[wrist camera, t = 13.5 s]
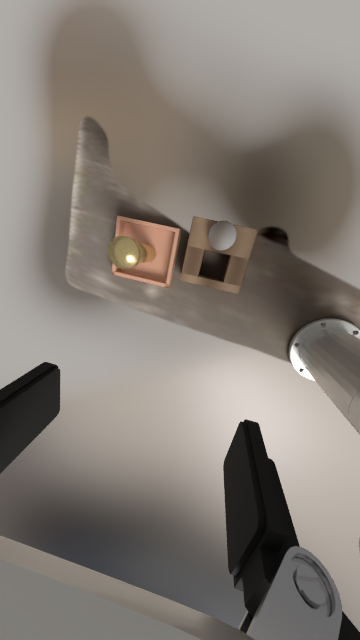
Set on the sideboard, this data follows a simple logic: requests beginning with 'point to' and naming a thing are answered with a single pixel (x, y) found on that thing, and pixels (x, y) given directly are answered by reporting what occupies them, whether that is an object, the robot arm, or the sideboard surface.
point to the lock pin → (129, 252)
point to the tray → (164, 245)
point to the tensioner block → (222, 241)
